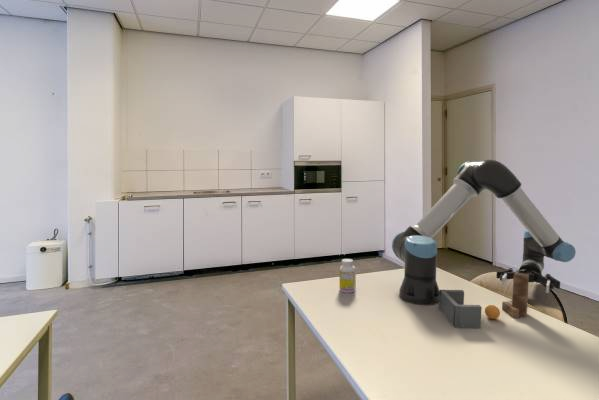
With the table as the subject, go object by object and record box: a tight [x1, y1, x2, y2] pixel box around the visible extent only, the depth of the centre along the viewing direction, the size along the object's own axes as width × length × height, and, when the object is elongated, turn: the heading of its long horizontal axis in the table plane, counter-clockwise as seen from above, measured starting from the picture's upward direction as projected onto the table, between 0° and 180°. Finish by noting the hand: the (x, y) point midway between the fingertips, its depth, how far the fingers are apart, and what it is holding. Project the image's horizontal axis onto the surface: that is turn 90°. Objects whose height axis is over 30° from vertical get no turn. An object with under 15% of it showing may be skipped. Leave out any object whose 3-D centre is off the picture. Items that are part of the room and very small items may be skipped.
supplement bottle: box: [339, 258, 357, 294], centre depth 144 cm, size 7×7×13 cm
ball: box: [484, 304, 501, 320], centre depth 116 cm, size 4×4×4 cm
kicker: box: [501, 272, 530, 319], centre depth 119 cm, size 7×7×14 cm
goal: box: [438, 289, 482, 329], centre depth 117 cm, size 15×8×7 cm, turn 176°
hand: (524, 285), depth 125 cm, fingers open, 13 cm apart
